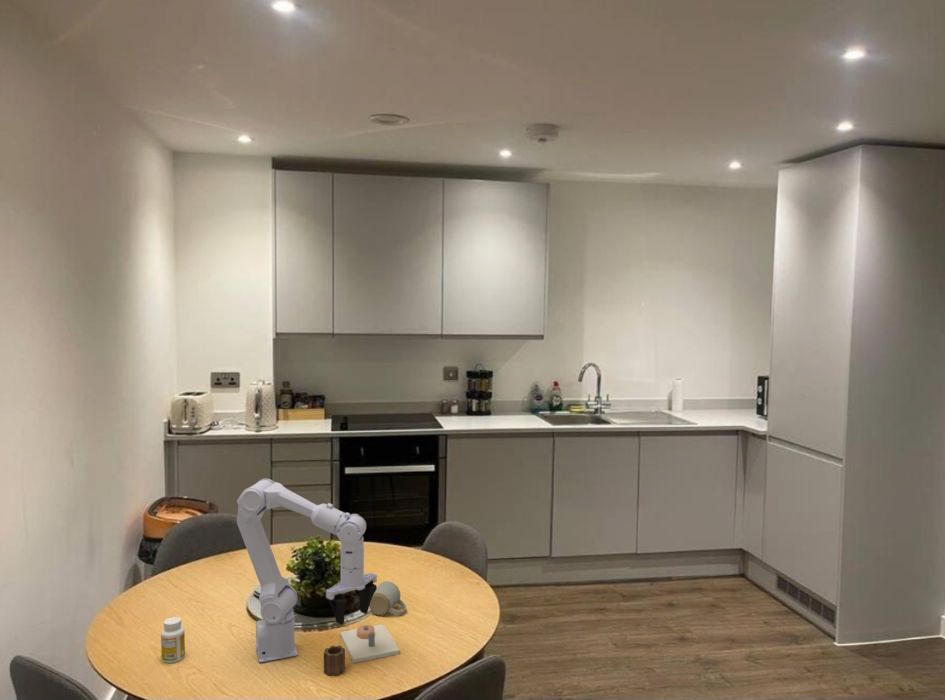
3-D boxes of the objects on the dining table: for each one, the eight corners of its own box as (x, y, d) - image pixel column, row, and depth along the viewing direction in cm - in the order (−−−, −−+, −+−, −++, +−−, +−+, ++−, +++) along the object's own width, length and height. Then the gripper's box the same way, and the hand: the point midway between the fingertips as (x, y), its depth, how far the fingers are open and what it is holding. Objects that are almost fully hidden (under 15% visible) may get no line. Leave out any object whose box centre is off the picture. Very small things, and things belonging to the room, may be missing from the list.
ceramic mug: (366, 615, 196) (367, 590, 196) (377, 603, 204) (378, 579, 203) (400, 620, 194) (400, 595, 193) (409, 608, 201) (410, 583, 201)
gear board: (353, 663, 170) (353, 647, 170) (340, 635, 184) (339, 621, 184) (399, 653, 175) (399, 638, 175) (383, 627, 189) (383, 613, 189)
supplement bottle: (178, 650, 176) (177, 613, 175) (189, 657, 172) (188, 619, 172) (157, 658, 172) (156, 620, 171) (168, 666, 168) (167, 627, 167)
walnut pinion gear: (326, 677, 164) (326, 657, 163) (322, 667, 168) (322, 647, 168) (346, 673, 166) (346, 653, 165) (342, 663, 170) (342, 643, 170)
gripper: (338, 578, 164) (338, 633, 165) (384, 561, 174) (384, 613, 175) (320, 570, 168) (320, 623, 169) (366, 554, 179) (366, 604, 180)
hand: (352, 617), depth 173 cm, fingers open, 7 cm apart
